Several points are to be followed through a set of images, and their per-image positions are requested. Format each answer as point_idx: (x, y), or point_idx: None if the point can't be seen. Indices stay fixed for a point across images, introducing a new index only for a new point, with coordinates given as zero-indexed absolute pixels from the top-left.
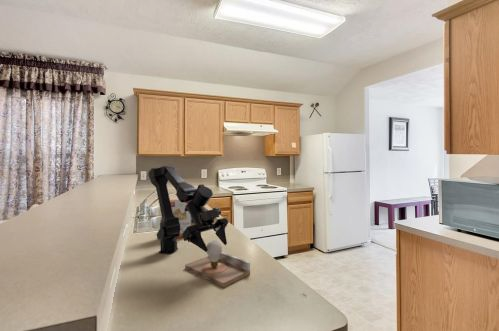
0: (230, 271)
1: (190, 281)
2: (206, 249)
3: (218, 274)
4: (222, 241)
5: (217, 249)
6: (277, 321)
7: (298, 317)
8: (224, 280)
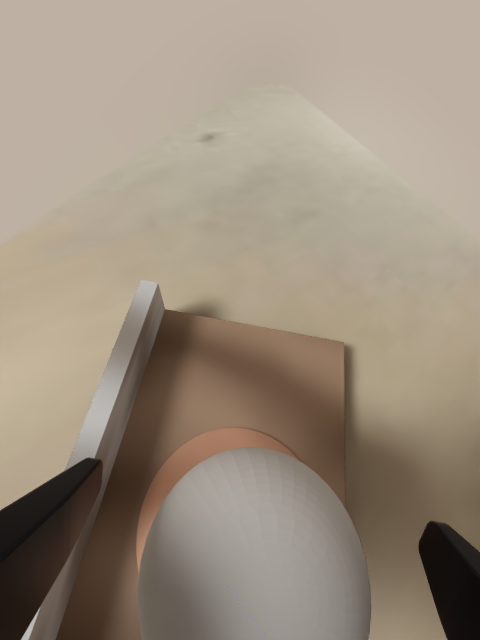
0: (218, 388)
1: (421, 578)
2: (457, 533)
3: (291, 428)
4: (58, 564)
5: (292, 457)
6: (358, 157)
7: (313, 131)
8: (320, 354)
